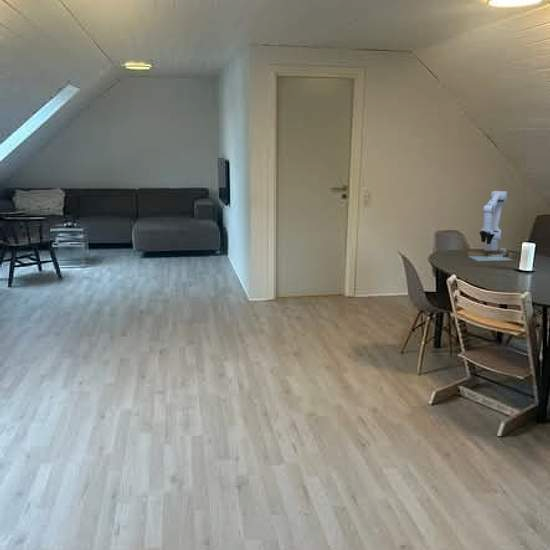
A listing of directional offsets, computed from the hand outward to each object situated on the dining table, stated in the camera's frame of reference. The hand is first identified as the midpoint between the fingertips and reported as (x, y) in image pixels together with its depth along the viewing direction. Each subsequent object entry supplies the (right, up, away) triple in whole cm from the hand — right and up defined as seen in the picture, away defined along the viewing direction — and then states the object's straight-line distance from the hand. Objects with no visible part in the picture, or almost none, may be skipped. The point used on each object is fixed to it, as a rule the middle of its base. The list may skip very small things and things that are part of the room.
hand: (486, 242), depth 379 cm
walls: (+3, -11, 0) cm, 11 cm away
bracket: (+8, -10, +2) cm, 12 cm away
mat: (+3, -11, 0) cm, 11 cm away
